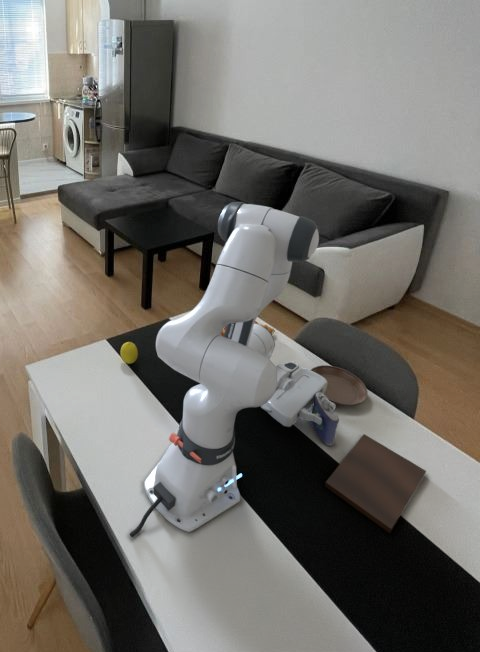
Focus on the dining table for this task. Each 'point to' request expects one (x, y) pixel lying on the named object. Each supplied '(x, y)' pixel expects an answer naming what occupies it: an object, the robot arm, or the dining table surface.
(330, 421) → the flask
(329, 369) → the saucer
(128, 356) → the lemon
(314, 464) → the dining table surface
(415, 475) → the cutting board
